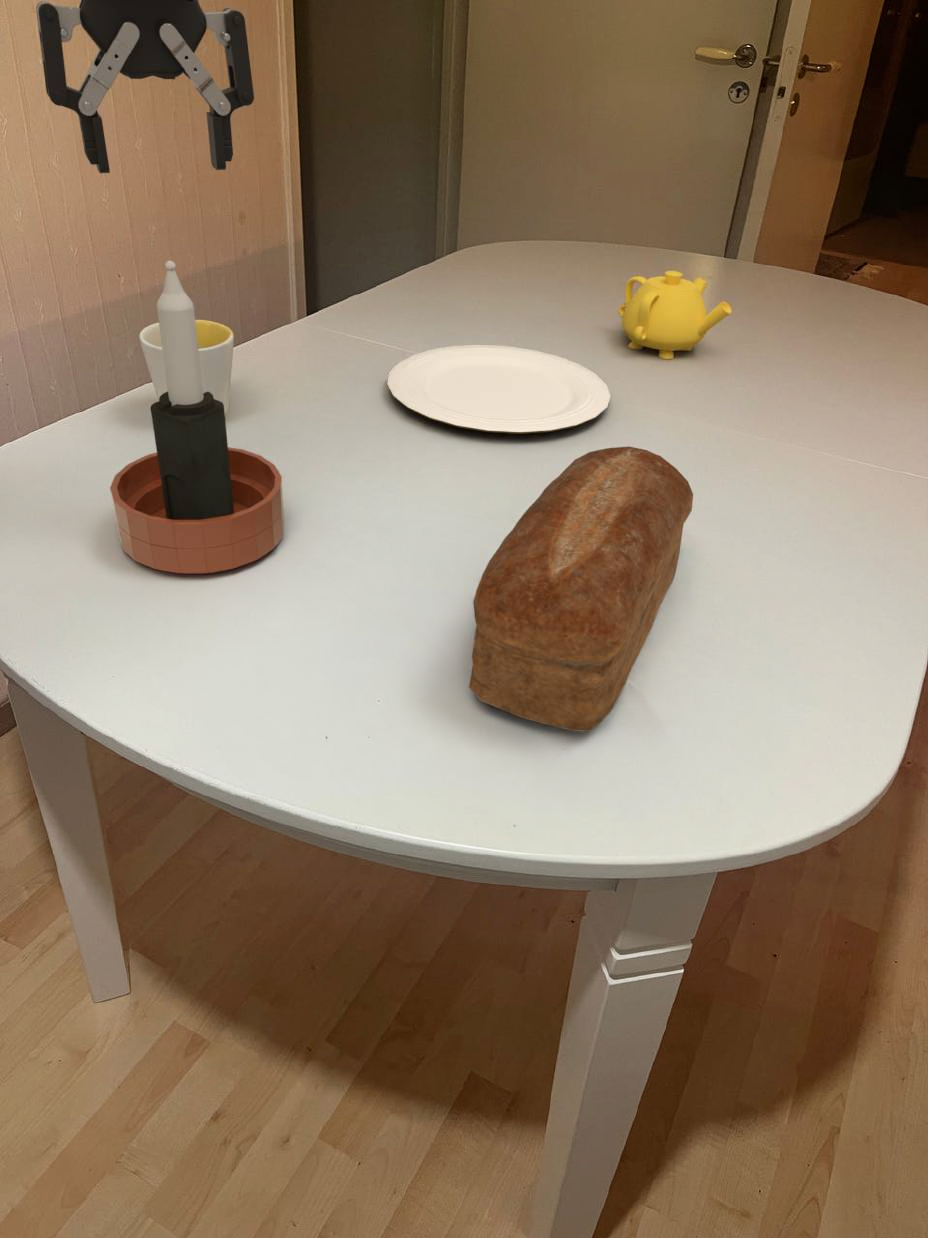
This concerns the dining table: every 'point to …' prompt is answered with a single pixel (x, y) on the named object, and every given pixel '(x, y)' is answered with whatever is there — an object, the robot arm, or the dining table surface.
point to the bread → (579, 588)
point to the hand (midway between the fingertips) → (162, 169)
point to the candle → (188, 418)
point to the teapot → (668, 313)
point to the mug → (212, 355)
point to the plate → (498, 389)
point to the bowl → (205, 539)
